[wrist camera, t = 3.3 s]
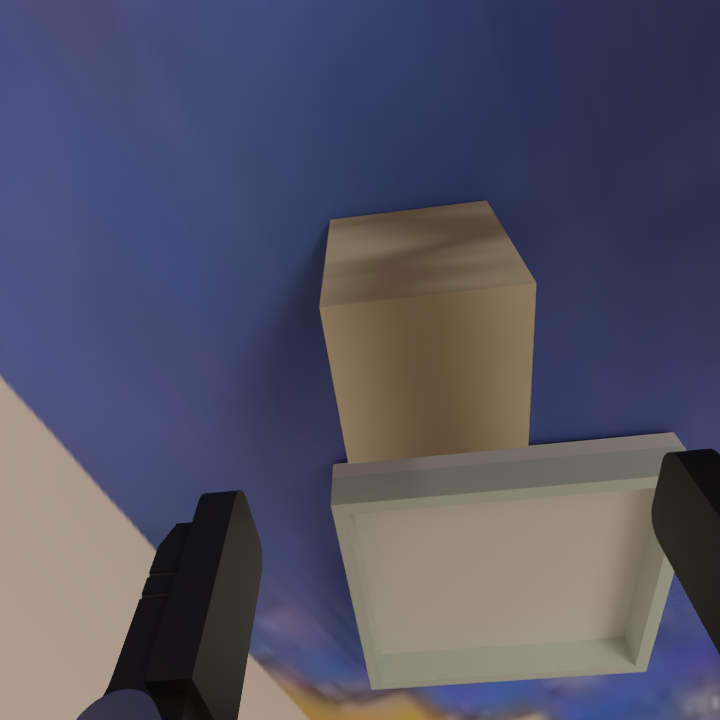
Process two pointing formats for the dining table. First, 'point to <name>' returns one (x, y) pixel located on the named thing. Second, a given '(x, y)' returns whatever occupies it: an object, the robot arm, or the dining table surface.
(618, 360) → the dining table surface
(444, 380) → the birch block
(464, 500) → the dish
